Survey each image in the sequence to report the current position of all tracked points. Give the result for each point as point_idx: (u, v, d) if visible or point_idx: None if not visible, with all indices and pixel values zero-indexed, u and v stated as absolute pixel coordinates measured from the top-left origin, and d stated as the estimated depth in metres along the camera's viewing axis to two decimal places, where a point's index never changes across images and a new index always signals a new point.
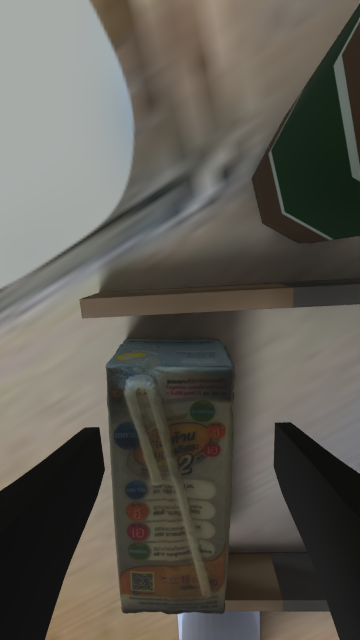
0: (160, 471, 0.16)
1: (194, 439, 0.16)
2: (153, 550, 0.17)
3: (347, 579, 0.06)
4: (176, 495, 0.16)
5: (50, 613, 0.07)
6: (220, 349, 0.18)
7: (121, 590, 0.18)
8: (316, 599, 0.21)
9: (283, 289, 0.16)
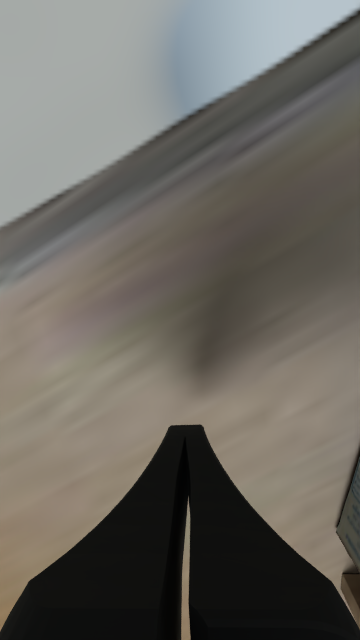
0: None
1: None
2: None
3: None
4: None
5: (180, 614, 0.07)
6: None
7: None
8: None
9: None
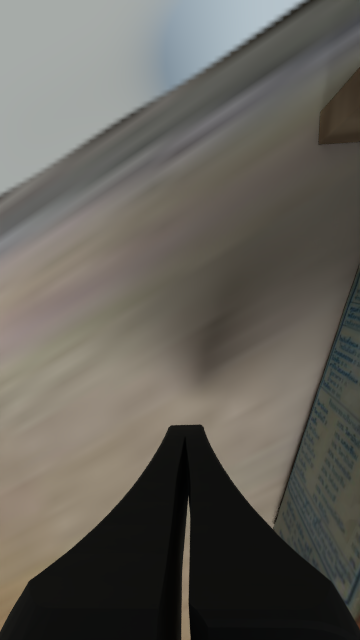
0: None
1: None
2: None
3: None
4: None
5: (180, 614, 0.07)
6: None
7: None
8: None
9: None
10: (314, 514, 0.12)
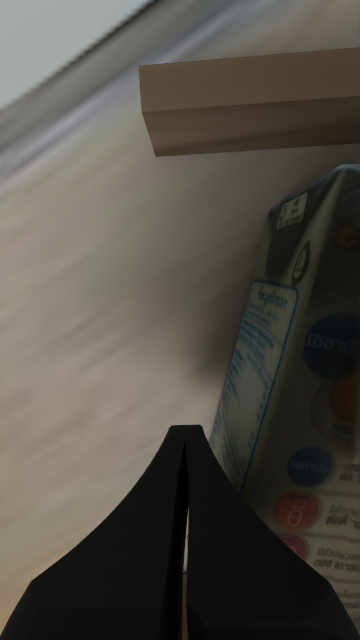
0: None
1: None
2: None
3: None
4: None
5: (182, 614, 0.07)
6: None
7: None
8: None
9: None
10: None
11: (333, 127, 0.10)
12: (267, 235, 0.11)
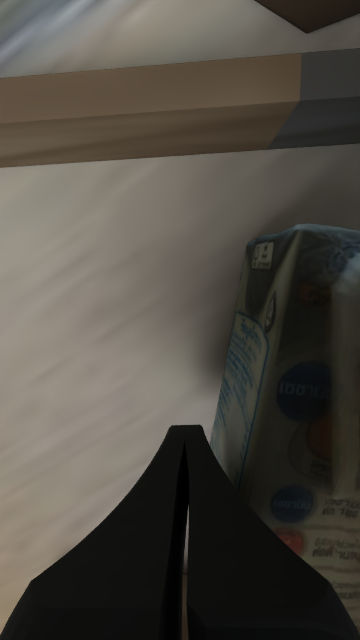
0: (358, 473, 0.08)
1: None
2: None
3: None
4: None
5: (181, 614, 0.07)
6: None
7: None
8: None
9: (280, 57, 0.08)
10: None
11: (113, 143, 0.10)
12: (246, 268, 0.12)
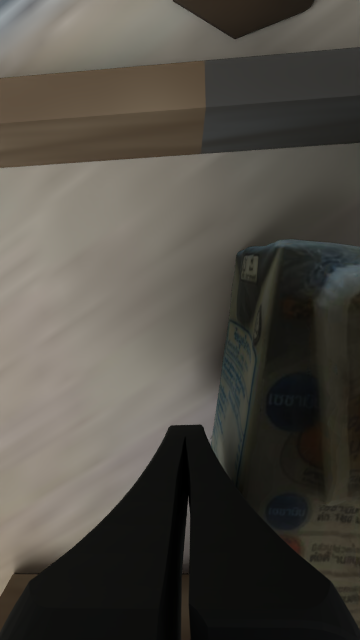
0: (349, 480, 0.08)
1: None
2: None
3: None
4: None
5: (180, 614, 0.07)
6: None
7: None
8: None
9: (184, 65, 0.08)
10: None
11: (41, 148, 0.10)
12: (236, 277, 0.12)
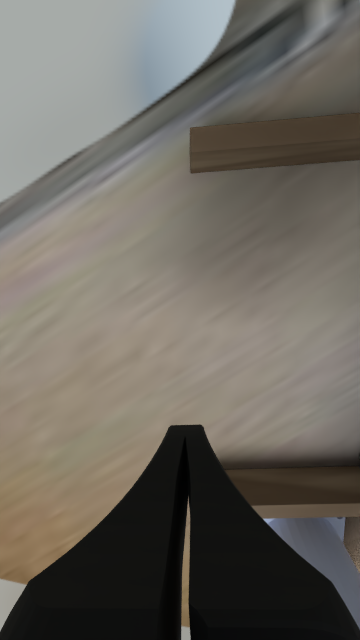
0: None
1: None
2: None
3: None
4: None
5: (180, 614, 0.07)
6: None
7: None
8: None
9: None
10: None
11: (301, 155, 0.16)
12: None
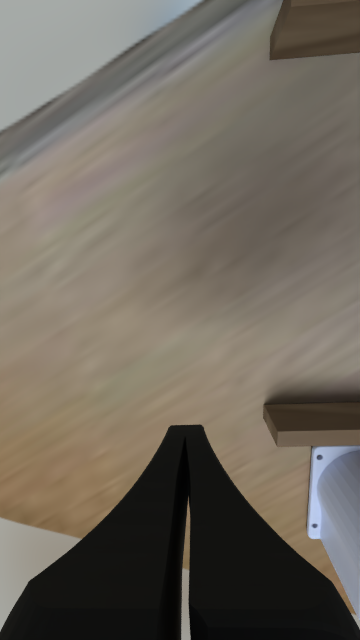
0: None
1: None
2: None
3: None
4: None
5: (180, 614, 0.07)
6: None
7: None
8: None
9: None
10: None
11: None
12: None
